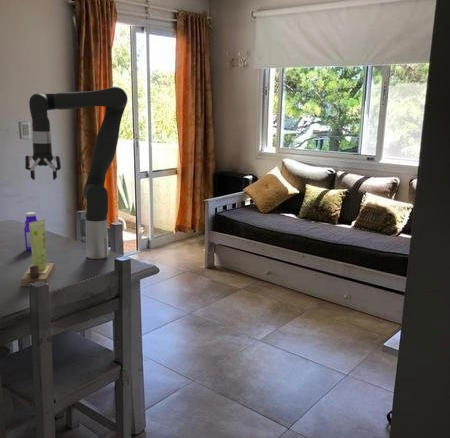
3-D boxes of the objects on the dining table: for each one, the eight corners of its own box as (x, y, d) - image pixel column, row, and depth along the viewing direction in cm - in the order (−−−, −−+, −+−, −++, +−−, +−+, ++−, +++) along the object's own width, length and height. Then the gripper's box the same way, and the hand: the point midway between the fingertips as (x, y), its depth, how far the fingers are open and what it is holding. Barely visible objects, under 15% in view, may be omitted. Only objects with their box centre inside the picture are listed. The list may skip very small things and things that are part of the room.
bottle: (34, 252, 220) (32, 215, 216) (23, 250, 221) (20, 214, 217) (43, 247, 227) (41, 211, 223) (32, 246, 228) (30, 210, 224)
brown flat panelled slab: (55, 269, 199) (54, 253, 197) (46, 286, 182) (45, 268, 180) (32, 270, 197) (30, 254, 196) (21, 286, 180) (20, 269, 179)
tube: (45, 271, 188) (42, 222, 183) (31, 271, 186) (28, 222, 182) (47, 266, 193) (44, 218, 188) (33, 266, 192) (30, 218, 187)
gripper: (60, 141, 211) (62, 178, 215) (26, 140, 208) (28, 178, 212) (57, 143, 204) (59, 181, 207) (22, 142, 201) (24, 180, 205)
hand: (44, 179), depth 210 cm, fingers open, 8 cm apart
